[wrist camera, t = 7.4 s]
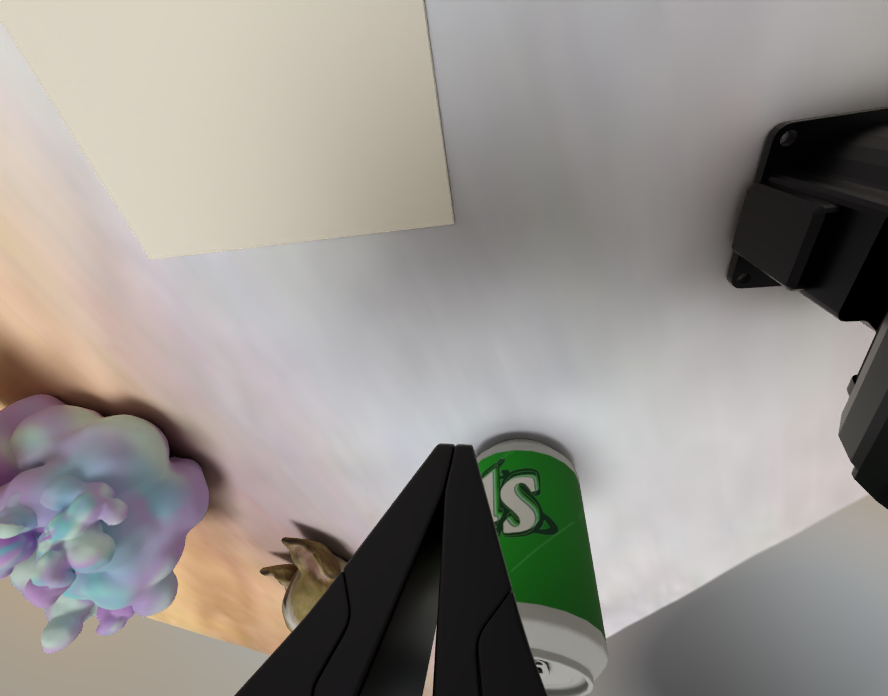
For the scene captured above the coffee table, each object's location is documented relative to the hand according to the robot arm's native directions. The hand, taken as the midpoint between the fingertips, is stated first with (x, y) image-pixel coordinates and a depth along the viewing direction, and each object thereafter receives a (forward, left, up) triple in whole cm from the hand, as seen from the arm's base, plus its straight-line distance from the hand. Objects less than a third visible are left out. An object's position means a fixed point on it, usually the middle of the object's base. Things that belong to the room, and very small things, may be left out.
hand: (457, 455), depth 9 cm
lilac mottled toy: (+36, +15, -12) cm, 41 cm away
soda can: (-1, +16, -12) cm, 20 cm away
